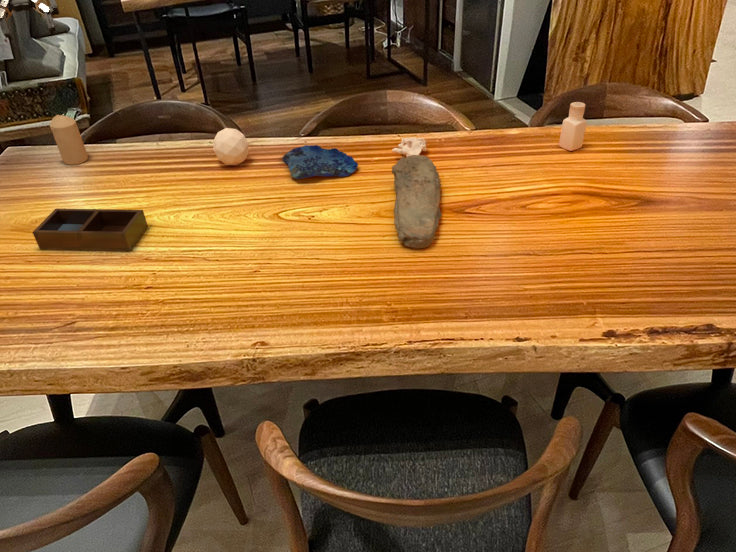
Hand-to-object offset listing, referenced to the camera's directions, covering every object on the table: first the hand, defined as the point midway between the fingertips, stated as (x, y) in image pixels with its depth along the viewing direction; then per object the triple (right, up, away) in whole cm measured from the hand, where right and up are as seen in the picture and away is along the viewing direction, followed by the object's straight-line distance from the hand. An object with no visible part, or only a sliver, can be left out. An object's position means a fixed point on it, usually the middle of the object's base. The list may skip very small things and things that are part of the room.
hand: (31, 35), depth 136 cm
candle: (+6, -24, +9) cm, 27 cm away
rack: (+22, -48, -18) cm, 56 cm away
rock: (+62, -28, +3) cm, 68 cm away
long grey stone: (+83, -41, -12) cm, 94 cm away
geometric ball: (+43, -26, +5) cm, 51 cm away
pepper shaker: (+120, -22, +6) cm, 122 cm away
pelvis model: (+84, -25, +5) cm, 87 cm away
